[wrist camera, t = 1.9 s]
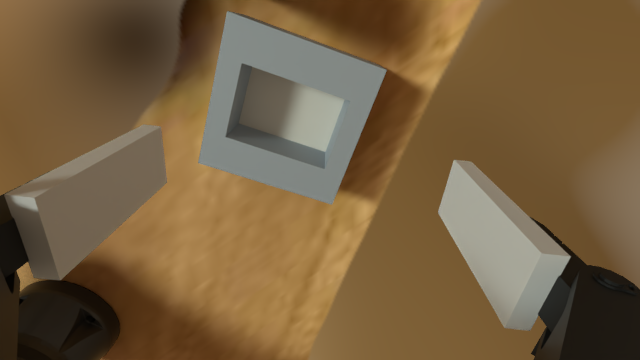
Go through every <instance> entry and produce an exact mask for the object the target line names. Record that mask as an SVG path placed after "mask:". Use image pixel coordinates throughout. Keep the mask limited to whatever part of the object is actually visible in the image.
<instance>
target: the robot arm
mask: <svg viewBox="0 0 640 360" xmlns="http://www.w3.org/2000/svg"><path fill="white" fill-rule="evenodd" d="M166 183H167V178H166V168H165V159H164V150H163V141H162V132H161V127H160V126H151V125H142V126H140V127H138V128H136V129H134V130H132V131H130V132H128V133H126V134H124V135H122V136H120V137H118V138H116V139H114V140H112V141H110V142H108V143H106V144H104V145H102V146H100V147H98V148H96V149H94V150H92V151H90V152H88V153H86V154H84V155H82V156H80V157H78V158H76V159H74V160H72V161H70V162H68V163H66V164H64V165H62V166H60V167H58V168H56V169H54V170H52V171H50V172H47V173H45V174H43V175H41V176H39V177H37V178H36V179H34V180H31V181H29V182H27V183H25V184H24V185H22V186H19V187H17V188H15V189H13V190H11V191H9V192H7V193H5V194H3V195H1V196H0V360H100V359H101V358H102V357H104V356H105V355H106V354H107V352H108V351H109V350H110V348H111V347H112V345H113V344H114V343H115V341H116V340H117V338H118V335H119V330H120V328H119V322H118V319H117V317H116V315H115V313H114V312H113V310H112V309H111V308H110V306H109V305H108V304H107V303H106V302H105V301H104V300H102V299H101V298H100V297H99V296H97V295H96V294H94V293H92V292H91V291H89V290H87V289H85V288H83V287H80V286H78V285H75V284H71V283H68V282H63V281H60V280H62V279H63V278H64V277H65V276H66V275H67V274H68V273H69V272H70V271H71V270H72V269H73V268H75V267H76V266H77V265H78V264H79V263H80V262H81V261H82V260H83V259H84V258H85V257H87V256H88V255H89V254H90V253H91V252H92V251H93V250H94V249H95V248H96V247H97V246H98V245H100V244H101V243H102V242H103V241H104V240H105V239H106V238H107V237H108V236H109V235H110V234H112V233H113V232H114V231H115V230H116V229H117V228H118V227H119V226H120V225H121V224H122V223H123V222H125V221H126V220H127V219H128V218H129V217H130V216H131V215H132V214H133V213H134V212H135V211H137V210H138V209H139V208H140V207H141V206H142V205H143V204H144V203H145V202H146V201H147V200H148V199H150V198H151V197H152V196H153V195H154V194H155V193H156V192H157V191H158V190H159V189H160V188H162V187H163V186H164V185H165V184H166ZM438 213H439V215H440V217H441V218H442V220H443V222H444V224H445V225H446V227H447V229H448V231H449V232H450V234H451V236H452V238H453V239H454V241H455V243H456V244H457V246H458V248H459V250H460V251H461V253H462V255H463V256H464V258H465V260H466V262H467V264H468V265H469V267H470V269H471V270H472V272H473V274H474V276H475V277H476V279H477V281H478V283H479V284H480V286H481V288H482V290H483V291H484V293H485V295H486V296H487V298H488V300H489V302H490V303H491V305H492V307H493V309H494V310H495V312H496V314H497V316H498V317H499V319H500V321H501V323H502V324H503V326H504V328H510V329H520V330H529V331H530V330H531V328H532V326H533V324H534V322H535V321H536V319H537V317H538V315H539V316H540V318H541V319H542V320H543V322H544V323H545V325H546V326H547V327H546V329H545V330H544V332H543V334H542V336H541V338H540V339H539V341H538V343H537V344H536V346H535V348H534V349H533V351H532V353H531V354H532V355H534V356H535V358H534V360H640V289H639V288H638V287H637V286H635V285H634V284H633V283H632V282H630V281H629V280H627V279H626V278H624V277H623V276H621V275H619V274H617V273H614V272H612V271H610V270H607V269H604V268H601V267H597V266H591V265H586V264H585V263H584V262H583V261H582V260H581V259H580V258H579V257H578V256H576V255H575V254H574V253H573V252H572V251H571V250H570V249H569V248H568V247H567V246H566V245H565V244H562V241H560V240H559V239H558V238H557V237H556V236H554V234H553V233H552V232H551V231H550V230H549V229H547V228H546V227H545V226H544V225H543V224H541V223H539V222H538V221H536V220H534V219H533V218H531V217H529V216H528V215H527V214H526V213H525V212H523V211H522V210H521V209H520V208H519V207H518V206H517V205H516V204H515V203H514V202H513V201H512V200H511V199H510V198H509V197H508V196H507V195H506V194H504V193H503V192H502V191H501V190H500V189H499V188H498V187H497V186H496V185H495V184H494V183H493V182H492V181H491V180H490V179H489V178H488V177H487V176H486V175H485V174H484V173H482V172H481V171H480V170H479V169H478V168H477V167H476V166H475V165H474V164H473V163H472V162H470V161H461V160H454V162H453V165H452V168H451V172H450V175H449V178H448V182H447V185H446V188H445V191H444V194H443V198H442V201H441V204H440V208H439V211H438ZM27 262H28V263H29V266H30V268H31V271H32V274H33V277H34V278H40V279H50V280H47V281H39V282H35V283H32V284H30V285H28V286H27V287H25V288H24V289H23V290H22V291H20V279H19V277H18V274H17V271H16V270H17V269H19V268H20V267H21V266H23V265H24V264H25V263H27ZM54 280H59V281H54Z"/></svg>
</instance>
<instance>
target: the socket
mask: <svg viewBox="0 0 640 360" xmlns="http://www.w3.org/2000/svg"><path fill="white" fill-rule="evenodd" d="M386 71H387V70H386V69H384V68H383V67H381V66H380V65H378V64H376V63H373V62H371V61H368V60H365V59H363V58H360V57H357V56H354V55H352V54H349V53H346V52H344V51H341V50H338V49H336V48H333V47H330V46H327V45H325V44H322V43H319V42H317V41H314V40H311V39H309V38H306V37H303V36H301V35H298V34H295V33H292V32H290V31H287V30H284V29H282V28H279V27H276V26H274V25H271V24H268V23H265V22H263V21H260V20H257V19H255V18H252V17H249V16H247V15H244V14H239V13H234V12H229V11H227V15H226V20H225V26H224V31H223V36H222V41H221V46H220V52H219V57H218V62H217V67H216V73H215V78H214V83H213V88H212V94H211V99H210V104H209V109H208V114H207V120H206V125H205V130H204V135H203V141H202V146H201V151H200V156H199V162H198V163H200V164H203V165H207V166H210V167H213V168H216V169H219V170H223V171H226V172H229V173H232V174H235V175H239V176H242V177H245V178H248V179H252V180H255V181H258V182H261V183H264V184H268V185H271V186H274V187H277V188H280V189H284V190H287V191H290V192H293V193H296V194H300V195H303V196H306V197H309V198H313V199H316V200H319V201H322V202H325V203H329V204H332V203H333V201H334V198H335V196H336V194H337V191H338V189H339V186H340V184H341V181H342V179H343V176H344V174H345V171H346V169H347V167H348V164H349V162H350V159H351V157H352V154H353V152H354V149H355V147H356V145H357V142H358V140H359V137H360V135H361V132H362V130H363V127H364V125H365V122H366V120H367V118H368V115H369V113H370V110H371V108H372V105H373V103H374V100H375V98H376V96H377V93H378V91H379V88H380V86H381V83H382V81H383V78H384V76H385V74H386Z"/></svg>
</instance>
